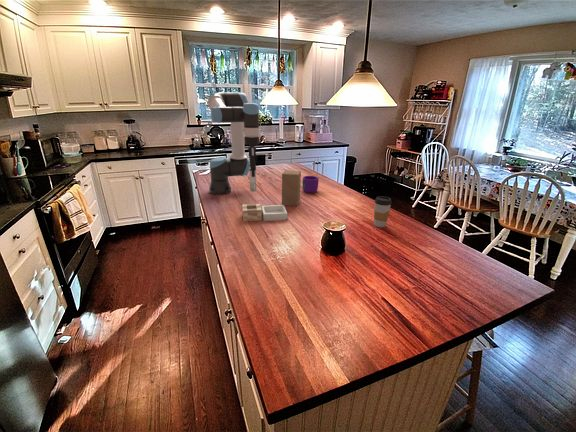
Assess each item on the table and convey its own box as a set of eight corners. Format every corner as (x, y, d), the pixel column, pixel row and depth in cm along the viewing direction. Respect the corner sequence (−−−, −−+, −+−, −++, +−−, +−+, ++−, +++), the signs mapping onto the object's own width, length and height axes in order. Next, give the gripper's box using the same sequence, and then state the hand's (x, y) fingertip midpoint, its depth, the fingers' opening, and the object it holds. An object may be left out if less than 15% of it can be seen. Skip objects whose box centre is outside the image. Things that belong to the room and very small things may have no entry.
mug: (320, 192, 206) (321, 179, 202) (305, 194, 203) (305, 180, 199) (311, 186, 221) (312, 173, 217) (297, 187, 218) (297, 174, 214)
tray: (261, 212, 169) (261, 205, 168) (283, 211, 172) (283, 204, 170) (263, 221, 158) (263, 214, 156) (287, 219, 160) (287, 213, 158)
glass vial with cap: (249, 189, 158) (249, 164, 153) (256, 189, 159) (255, 164, 153) (250, 191, 155) (249, 165, 149) (256, 191, 155) (256, 165, 150)
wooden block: (297, 206, 180) (298, 174, 172) (281, 205, 181) (281, 173, 174) (299, 201, 189) (301, 170, 181) (284, 199, 190) (285, 169, 183)
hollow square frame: (242, 214, 166) (242, 204, 164) (260, 213, 168) (259, 203, 166) (243, 221, 157) (242, 210, 155) (261, 220, 159) (261, 209, 156)
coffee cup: (376, 220, 161) (380, 194, 155) (390, 225, 155) (395, 198, 150) (368, 224, 155) (372, 198, 150) (382, 229, 150) (387, 202, 144)
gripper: (243, 134, 153) (245, 177, 162) (244, 138, 138) (246, 186, 147) (258, 134, 154) (259, 177, 163) (260, 138, 139) (261, 185, 148)
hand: (253, 181), depth 155 cm, fingers closed on glass vial with cap, 3 cm apart
